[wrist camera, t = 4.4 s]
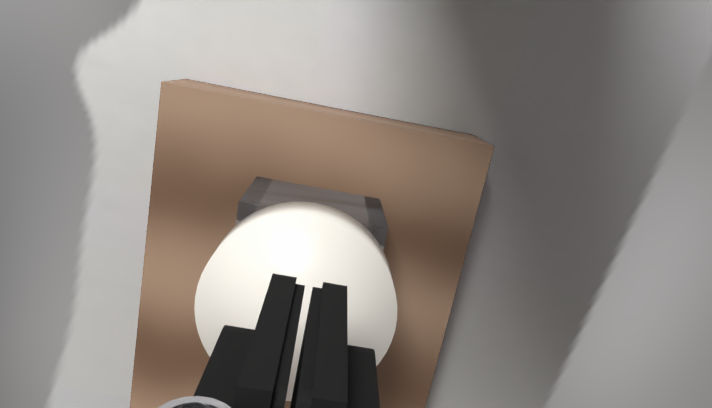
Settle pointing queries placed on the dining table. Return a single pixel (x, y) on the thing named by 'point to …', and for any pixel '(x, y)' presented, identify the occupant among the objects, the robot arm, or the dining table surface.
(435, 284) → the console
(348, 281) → the cream button
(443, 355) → the dining table surface
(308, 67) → the dining table surface
